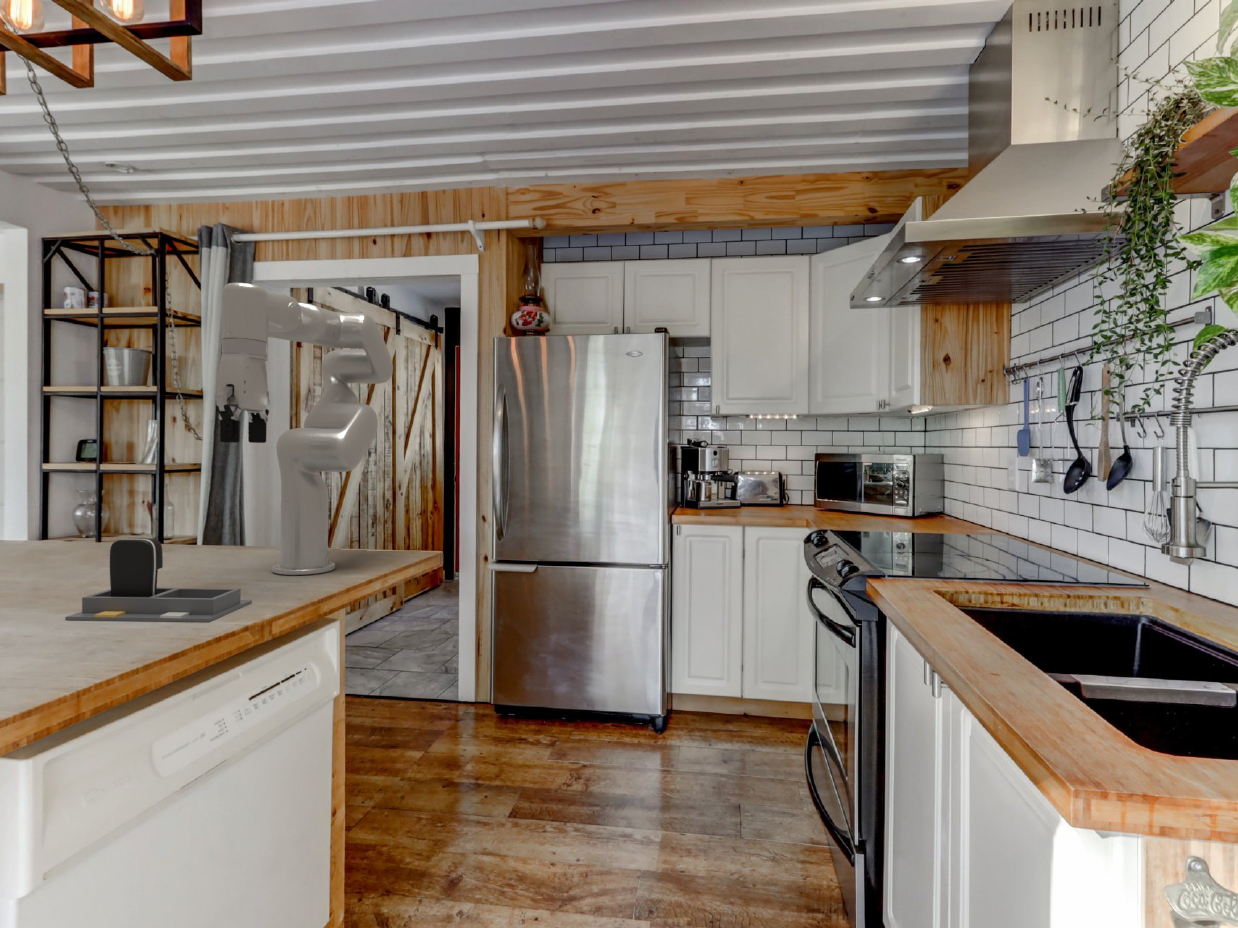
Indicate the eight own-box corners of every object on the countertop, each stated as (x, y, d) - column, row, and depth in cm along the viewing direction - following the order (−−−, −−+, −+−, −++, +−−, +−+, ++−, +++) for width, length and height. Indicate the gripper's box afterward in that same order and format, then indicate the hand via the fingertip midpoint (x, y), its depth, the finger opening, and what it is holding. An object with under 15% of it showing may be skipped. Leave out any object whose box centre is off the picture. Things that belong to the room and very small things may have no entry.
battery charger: (166, 603, 114) (166, 537, 113) (151, 609, 110) (151, 540, 110) (124, 603, 113) (124, 536, 113) (107, 608, 110) (108, 539, 109)
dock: (124, 600, 117) (124, 583, 117) (251, 602, 118) (251, 585, 118) (65, 620, 104) (65, 601, 104) (209, 622, 105) (209, 603, 105)
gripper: (248, 356, 133) (247, 442, 134) (197, 343, 116) (196, 441, 116) (286, 358, 134) (285, 443, 134) (240, 344, 116) (239, 442, 117)
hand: (244, 442), depth 125 cm, fingers open, 9 cm apart
